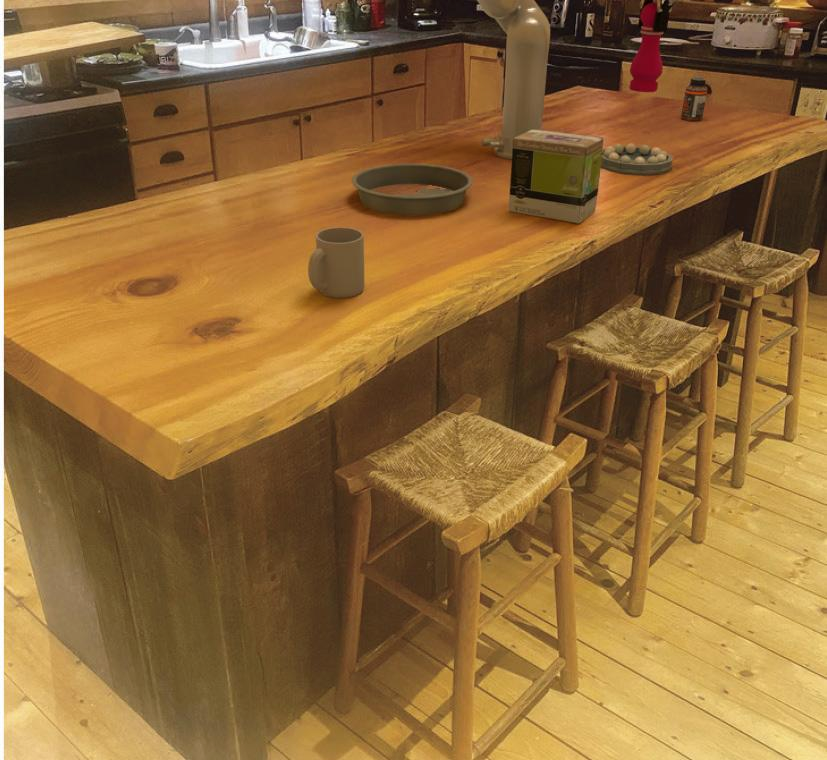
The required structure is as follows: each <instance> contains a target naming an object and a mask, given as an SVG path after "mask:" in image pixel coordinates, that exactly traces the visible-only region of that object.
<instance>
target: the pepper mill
mask: <svg viewBox="0 0 827 760" xmlns="http://www.w3.org/2000/svg"><path fill="white" fill-rule="evenodd" d="M653 2H654V3H650V4H647V5H646V6H645V7H644V8H643V9H642V12H641V17H640V18H641V21H642V23H643V26H642V27H641V28H640V31H639V32H640V33H641V42H640V46H639V48H638V51H637V53H636V54H635V56H634V58H633V60H632V61H631V63H630V68H629V73H630V75H631V76H632V78H633V79H631V80H630V82H629V89H630V91H633V92H639V93H654V92H657V91H658V86H659V82H658V81H657V79H659V78H660V77H661V76H662V74H663V69H664V68H663V61H662V56H661V52H660V43H661V37H662V35H664V32H653V24H654V18H655V12H658V10H657V0H653Z"/></svg>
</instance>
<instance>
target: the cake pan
mask: <svg viewBox="0 0 827 760" xmlns="http://www.w3.org/2000/svg"><path fill="white" fill-rule="evenodd" d="M351 183H352V185H353V187H355V188H356V189H357V191H358V192H357V193H358V195H359V198H360V202H361V204H363V206H365V207H366V208H368V209H370V210H373V211H376V212H380V213H382V214H384V213H385V214H389V215H390V214H391V215H395V216H396V215H397V216H398V215H399V216H415V217H417V216H430V215H438V214H443V213H447V212H451V211H453V210H455V209H457V208H459V207H461V206H462V205H463V204H464V200H465V196H466V193H467V191H468V190H469V189H470V187H471V186H472V185H473V178H472V177H471V176H470V175H469V174H468V173H466V172H465V171H462V170H460V169H456V168H452V167H449V166H443V165H438V164H437V165H436V164H426V163H398V164H397V163H395V164H385V165H378V166H373V167H369V168H365V169H364V170H361V171H359V172H357V173H356V174H354V175H353V177H352V179H351ZM415 184H418V185H419V186H428V185H432V186H437V187H442V188H446V189H444V190H440V188H434V189H425V188H426V187H423V188H422V189H421V188H420V189H421V190H420V189H418V190H417V189H416V190H417V191H420V192H415V193H419V194H408V193H409V192H405V193H400V194H391V193H390V194H389V193H384V192H377V191H374V190H375V189H381V188H384V187H389V186H390V187H391V186H392V187H393V186H398V185H399V186H402V185H415ZM418 185H417V186H418ZM427 190H428V191H427ZM442 191H443V192H442ZM450 191H452V192H450ZM421 194H423V195H421Z"/></svg>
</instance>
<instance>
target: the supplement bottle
mask: <svg viewBox="0 0 827 760" xmlns="http://www.w3.org/2000/svg"><path fill="white" fill-rule="evenodd" d="M690 78H691V79H690V83H689V84H688V85H687V86H686V87H685V91H684V97H683V104H682V109H681V115H680V118H681V119H682V120H683V121H686V122H687V121H688V122H701V121H702V120H703V116H704V112H705V111H704V110H705V107H706V101H707V95H708V87H707V86H706V78H705V77H699V76H696V77H695V76H694V77H690Z"/></svg>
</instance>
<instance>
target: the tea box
mask: <svg viewBox="0 0 827 760" xmlns="http://www.w3.org/2000/svg"><path fill="white" fill-rule="evenodd" d="M602 149H604V137H603V136H591V135H585V134H584V135H583V134H575V133H569V132H560V131H552V130H551V131H550V130H545V129H544V130H536V129H532V130H530V131H528V132H526V133H524V134H521V135H519V136H517V137H515V138H513V146H512V159H511V162H510V163H511V164H510V165H511V166H510V181H509V197H508V198H509V199H508V200H509V201H508V211H509V212H512V213H517V214H522V215H523V214H524V215H527V216H534V217H540V218H545V219H551V220H558V221H563V222H569V223H574V224H581V222H583V221H585V220H586V219H587V218H588V217H590V216H591V215H592V214H594V213H595V212H596V207H597V203H598V193H599V185H600V175H601V169H602V168H601V159H602Z"/></svg>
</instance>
